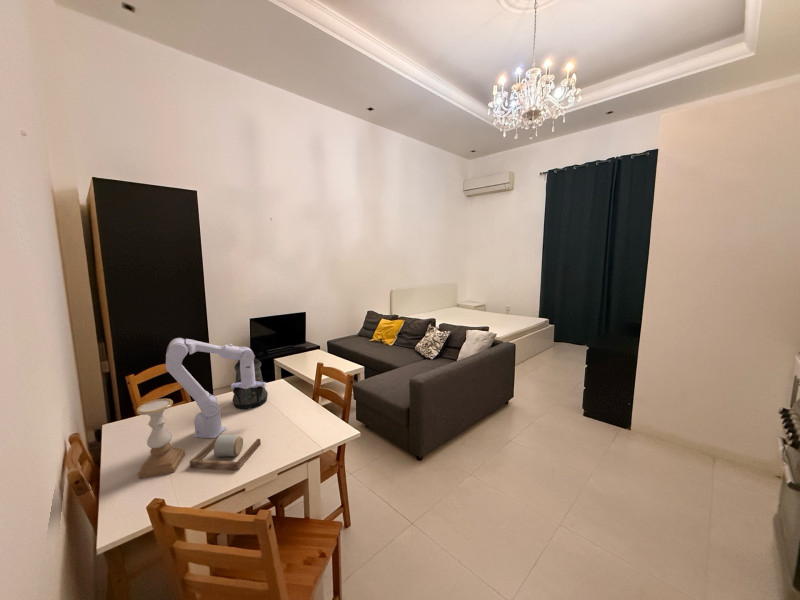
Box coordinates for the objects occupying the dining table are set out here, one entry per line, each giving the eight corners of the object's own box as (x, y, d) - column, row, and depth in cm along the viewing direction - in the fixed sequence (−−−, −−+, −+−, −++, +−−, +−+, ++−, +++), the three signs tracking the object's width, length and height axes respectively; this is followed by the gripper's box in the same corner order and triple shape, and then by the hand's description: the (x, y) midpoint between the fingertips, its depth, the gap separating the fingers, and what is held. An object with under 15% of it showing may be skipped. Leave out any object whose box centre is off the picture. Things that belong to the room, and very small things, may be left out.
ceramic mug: (236, 460, 117) (234, 441, 116) (213, 460, 116) (212, 442, 115) (248, 443, 127) (247, 426, 126) (228, 443, 127) (226, 426, 126)
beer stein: (248, 413, 150) (244, 364, 146) (221, 404, 158) (217, 358, 154) (275, 398, 165) (271, 353, 161) (249, 391, 173) (246, 348, 169)
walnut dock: (190, 467, 113) (189, 461, 112) (218, 442, 128) (217, 436, 127) (238, 470, 111) (237, 464, 111) (260, 444, 126) (260, 438, 126)
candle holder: (174, 472, 110) (166, 410, 106) (137, 479, 107) (128, 415, 103) (185, 453, 121) (178, 396, 117) (152, 458, 117) (144, 400, 114)
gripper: (226, 378, 135) (229, 407, 137) (261, 377, 136) (263, 406, 138) (234, 372, 142) (236, 399, 144) (266, 371, 143) (268, 398, 145)
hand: (250, 402), depth 141 cm, fingers open, 7 cm apart
